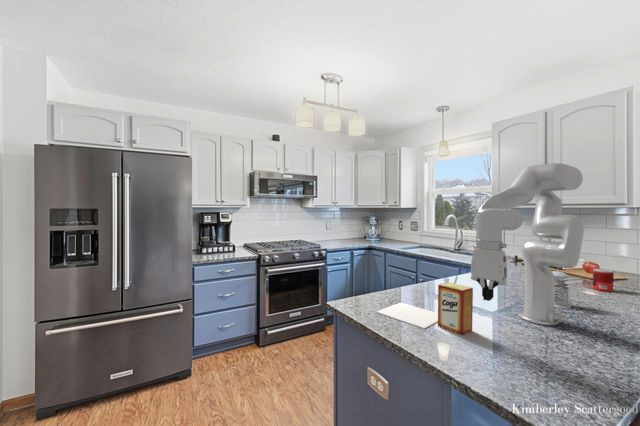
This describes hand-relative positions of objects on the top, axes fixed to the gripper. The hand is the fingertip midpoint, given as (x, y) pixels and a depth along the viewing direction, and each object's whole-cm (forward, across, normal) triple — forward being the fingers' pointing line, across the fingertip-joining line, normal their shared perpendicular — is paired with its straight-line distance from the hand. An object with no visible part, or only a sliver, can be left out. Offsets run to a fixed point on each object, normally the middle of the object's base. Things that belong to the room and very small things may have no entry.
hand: (487, 299), depth 99 cm
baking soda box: (+14, +11, 0) cm, 18 cm away
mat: (+13, +29, 0) cm, 32 cm away
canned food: (+13, -19, -111) cm, 114 cm away
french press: (+13, -7, -63) cm, 65 cm away
